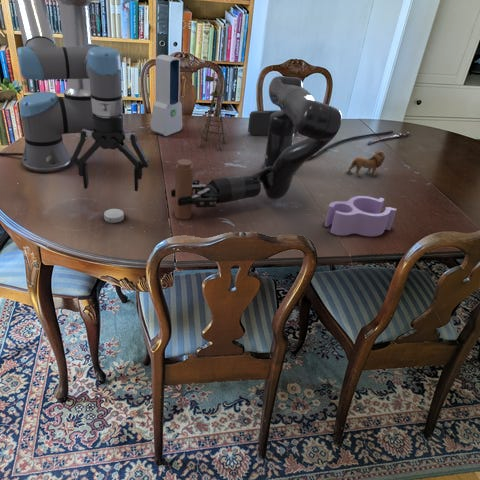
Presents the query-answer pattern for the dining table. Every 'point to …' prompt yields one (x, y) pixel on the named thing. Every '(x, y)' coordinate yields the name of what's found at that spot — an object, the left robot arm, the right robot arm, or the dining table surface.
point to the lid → (113, 215)
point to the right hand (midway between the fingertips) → (175, 197)
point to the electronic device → (167, 97)
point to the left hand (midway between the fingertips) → (111, 187)
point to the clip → (359, 216)
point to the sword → (386, 138)
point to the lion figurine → (368, 163)
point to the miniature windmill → (215, 95)
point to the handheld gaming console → (260, 122)
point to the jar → (183, 187)
